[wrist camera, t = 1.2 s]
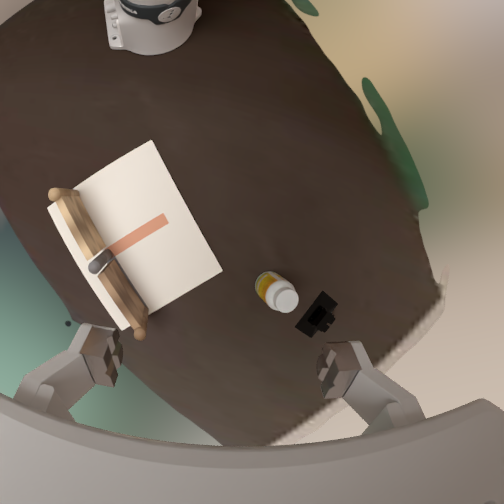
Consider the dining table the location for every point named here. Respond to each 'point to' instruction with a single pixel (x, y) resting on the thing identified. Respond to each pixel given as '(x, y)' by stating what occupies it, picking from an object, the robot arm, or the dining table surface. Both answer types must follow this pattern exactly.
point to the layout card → (141, 231)
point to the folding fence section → (78, 221)
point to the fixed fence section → (121, 292)
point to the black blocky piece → (318, 315)
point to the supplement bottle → (276, 292)
